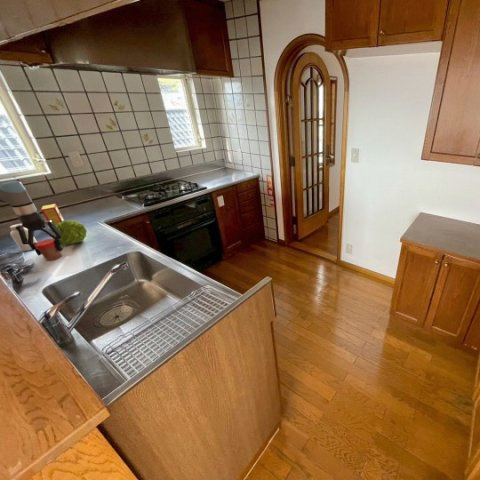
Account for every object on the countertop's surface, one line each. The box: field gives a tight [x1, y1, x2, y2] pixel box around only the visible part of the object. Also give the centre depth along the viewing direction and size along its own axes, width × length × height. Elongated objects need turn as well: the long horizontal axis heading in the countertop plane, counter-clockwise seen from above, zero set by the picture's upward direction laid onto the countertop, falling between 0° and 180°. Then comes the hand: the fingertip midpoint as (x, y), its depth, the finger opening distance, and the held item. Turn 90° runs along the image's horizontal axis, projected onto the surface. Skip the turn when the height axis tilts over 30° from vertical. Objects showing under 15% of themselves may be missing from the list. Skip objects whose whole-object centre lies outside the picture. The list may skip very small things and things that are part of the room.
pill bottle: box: [9, 223, 38, 252], centre depth 153 cm, size 8×8×15 cm
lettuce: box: [51, 219, 88, 247], centre depth 160 cm, size 15×25×16 cm
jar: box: [39, 245, 64, 262], centre depth 140 cm, size 7×7×11 cm
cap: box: [34, 238, 55, 250], centre depth 138 cm, size 8×8×2 cm
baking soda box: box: [40, 203, 65, 225], centre depth 179 cm, size 10×6×16 cm
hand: (50, 252), depth 140 cm, fingers closed on cap, 8 cm apart
